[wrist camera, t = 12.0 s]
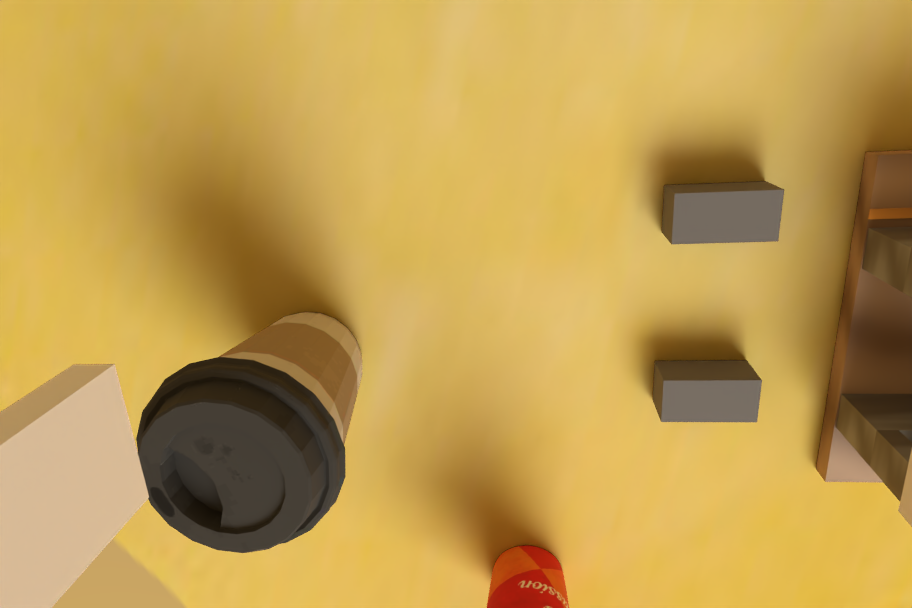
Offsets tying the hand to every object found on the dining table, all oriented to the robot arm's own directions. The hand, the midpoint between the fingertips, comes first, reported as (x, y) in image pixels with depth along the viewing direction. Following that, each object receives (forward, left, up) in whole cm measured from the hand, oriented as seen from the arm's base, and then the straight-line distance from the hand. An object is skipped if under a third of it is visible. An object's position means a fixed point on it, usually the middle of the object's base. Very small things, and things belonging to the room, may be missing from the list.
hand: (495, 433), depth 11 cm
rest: (+9, +12, -32) cm, 35 cm away
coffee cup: (+13, -15, -32) cm, 38 cm away
